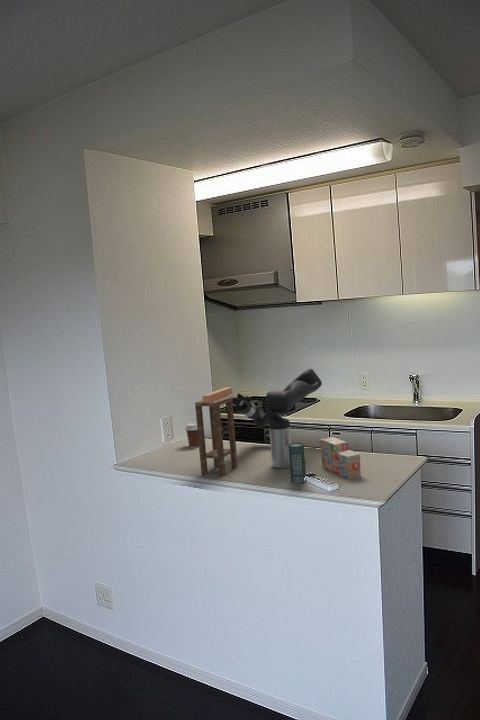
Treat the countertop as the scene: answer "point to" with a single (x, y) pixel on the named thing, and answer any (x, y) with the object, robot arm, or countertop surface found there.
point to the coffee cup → (192, 435)
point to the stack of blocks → (340, 458)
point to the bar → (217, 395)
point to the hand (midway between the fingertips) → (229, 395)
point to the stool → (216, 435)
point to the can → (297, 462)
